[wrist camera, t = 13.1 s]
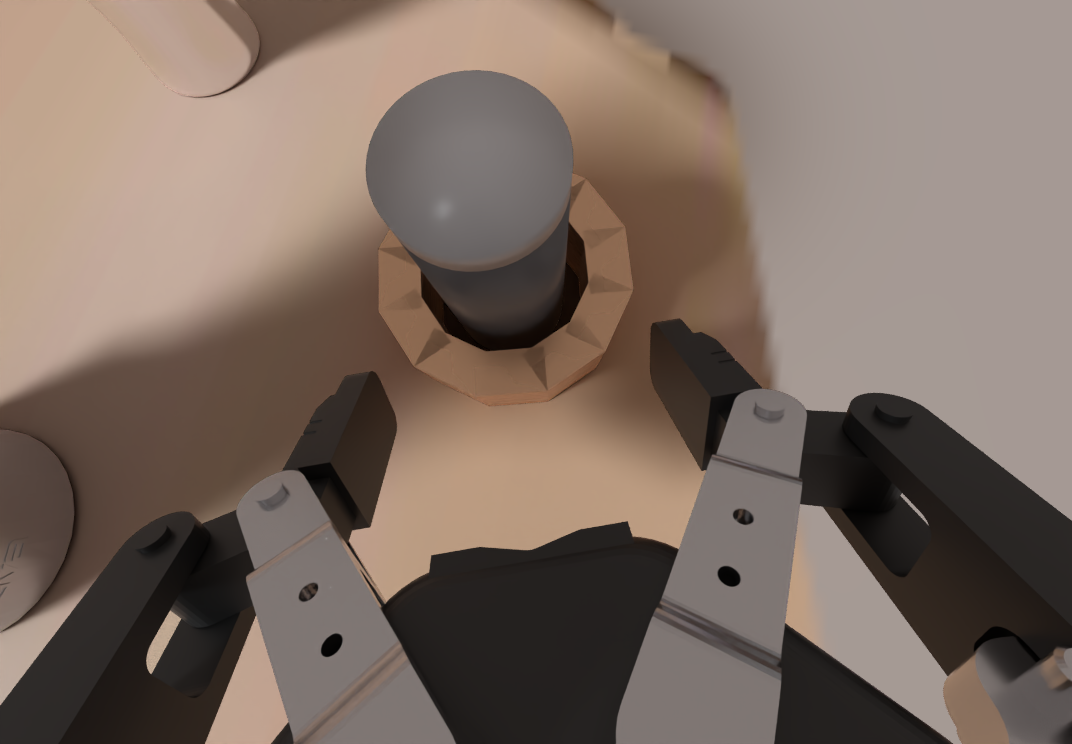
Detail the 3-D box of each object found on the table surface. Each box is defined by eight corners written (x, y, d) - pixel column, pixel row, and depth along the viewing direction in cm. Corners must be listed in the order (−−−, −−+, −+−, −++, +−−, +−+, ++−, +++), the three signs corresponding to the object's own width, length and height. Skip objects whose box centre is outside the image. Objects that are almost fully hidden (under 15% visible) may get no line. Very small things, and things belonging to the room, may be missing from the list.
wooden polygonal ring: (370, 349, 19) (332, 327, 16) (466, 177, 21) (450, 123, 18) (562, 441, 18) (565, 439, 15) (648, 252, 20) (669, 211, 16)
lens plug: (440, 326, 20) (327, 206, 10) (488, 238, 20) (428, 43, 10) (534, 370, 19) (515, 291, 9) (579, 278, 20) (607, 114, 10)
